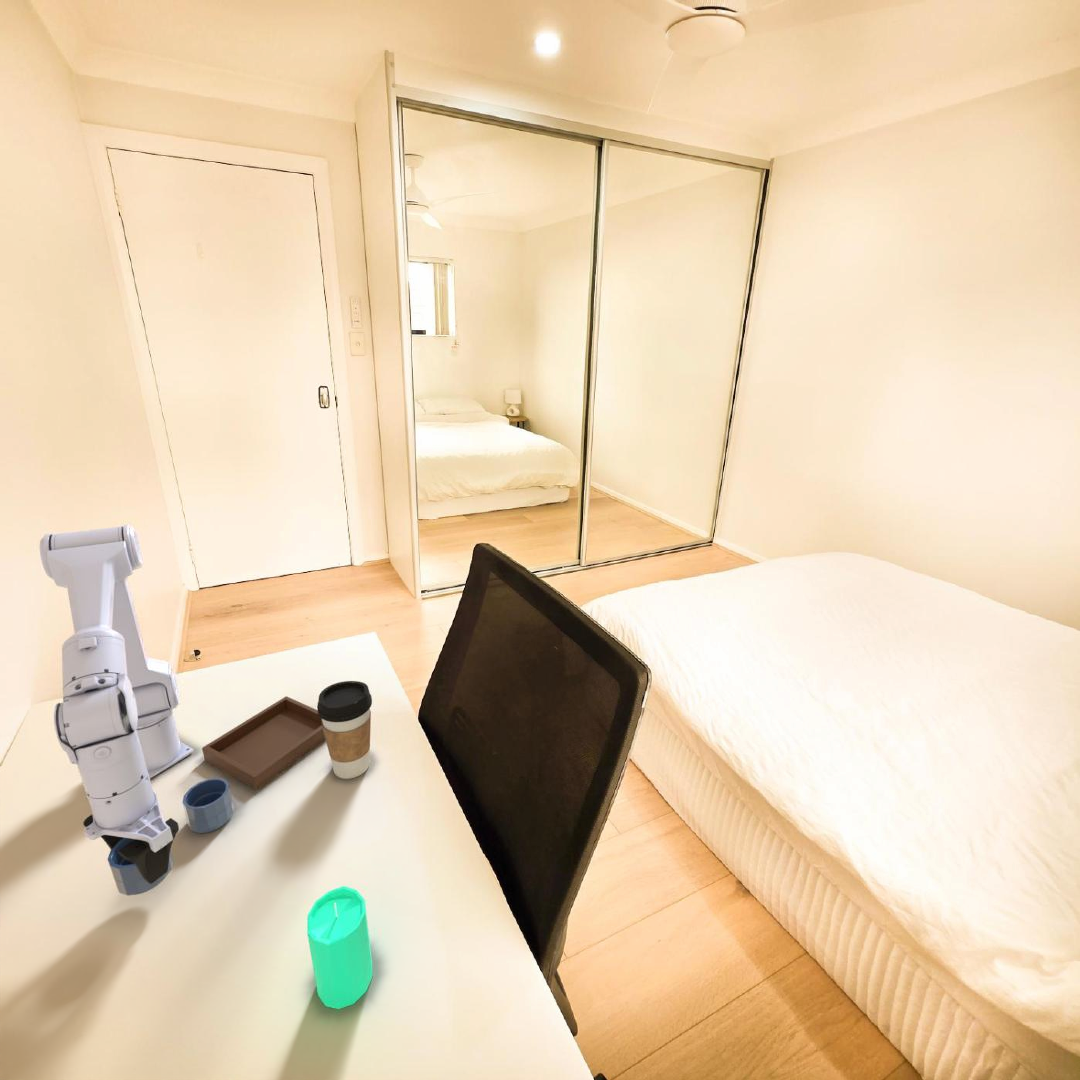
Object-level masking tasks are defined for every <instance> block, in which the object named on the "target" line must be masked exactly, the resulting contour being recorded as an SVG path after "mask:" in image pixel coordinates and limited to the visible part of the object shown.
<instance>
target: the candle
mask: <svg viewBox="0 0 1080 1080" xmlns="http://www.w3.org/2000/svg"><path fill="white" fill-rule="evenodd" d="M367 916H368V915H367V907H366V900H365V898H364V897H363V896H362V894H361V893H360V892H359V891H358V890H357V889H355V888H351V887H350V886H349V887H348V886H345V885H341V886H339V887H337V888H334V889H331V890H329V891H327V892H326V893H324V894H323V895H322V896H320V897H319V898H318V899H317V900H315V901H314V903H313V905H312V907H311V908H310V910H309V912H308V914H307V921H306V923H307V924H306V925H307V926H306V935H307V940H308V944H309V951H310V957H311V962H312V969H313V974H314V980H315V986H316V992H317V996H318V998H319V1000H320V1001H321V1003H323V1005H324V1006H325V1007H327V1008H330V1009H331V1008H332V1009H335V1010H341V1009H343V1008H346V1007H349V1006H352V1005H354V1004H355V1003H356V1002H358V1000H359V999H361V997H363V995H365V994H366V993H367V991H368V989H369V986H370V984H371V981H372V979H373V977H374V976H373V975H374V974H373V959H372V950H371V942H370V941H371V940H370V933H369V926H368V917H367Z"/></svg>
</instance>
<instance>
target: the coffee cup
mask: <svg viewBox="0 0 1080 1080" xmlns="http://www.w3.org/2000/svg"><path fill="white" fill-rule="evenodd" d="M316 705H317V706H316V710H318V715H319V716H320V717H321V718H322V721H321V723H322V727H323V731H324V735H325V739H324V740H325V743H326V747H327V750H328V754H329V757H330V761H331V766H332V770H333V773H334V775H335V776H336V777H337V778H340V779H345V780H349V779H354V778H357V777H360V776H361V775H363V774H364V773H365V772H366V771H367V770H369V767H370V765H371V727H372V726H371V725H372V724H371V723H372V722H371V721H372V711H371V707H372V705H373V698H372V694H371V692H370V689H369V685H368V684H366V682H362V681H358V680H345V681H339V682H335V683H333V684H331V685H329V686H326V687H325V688H323V690H322V691H321V692H320V693H319V695H318V702H317V704H316Z"/></svg>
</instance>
